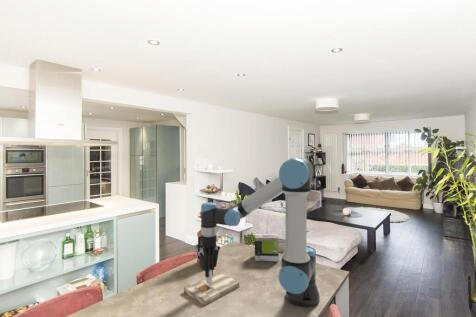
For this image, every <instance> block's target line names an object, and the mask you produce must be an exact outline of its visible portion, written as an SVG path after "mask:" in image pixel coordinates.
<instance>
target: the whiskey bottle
mask: <svg viewBox="0 0 476 317" xmlns="http://www.w3.org/2000/svg"><path fill="white" fill-rule="evenodd" d="M201 236H202V234H201V229H200V230H199V231H198V232H197V233H196V237H197V252H200V250H201V247H202V243H201ZM203 254H204V252H203ZM196 266H197V267H201V264H200V259H199V256H198V255H197V259H196Z"/></svg>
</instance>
